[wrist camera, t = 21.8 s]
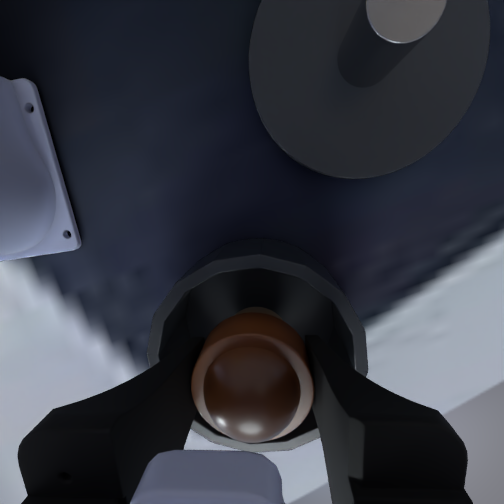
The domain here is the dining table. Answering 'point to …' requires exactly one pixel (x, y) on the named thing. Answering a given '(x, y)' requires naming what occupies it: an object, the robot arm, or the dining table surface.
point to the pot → (259, 295)
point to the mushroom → (253, 377)
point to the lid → (365, 78)
